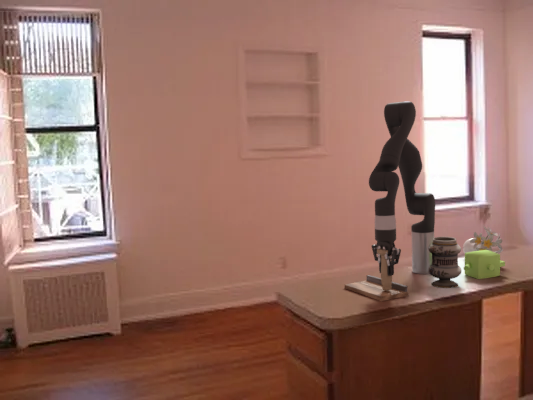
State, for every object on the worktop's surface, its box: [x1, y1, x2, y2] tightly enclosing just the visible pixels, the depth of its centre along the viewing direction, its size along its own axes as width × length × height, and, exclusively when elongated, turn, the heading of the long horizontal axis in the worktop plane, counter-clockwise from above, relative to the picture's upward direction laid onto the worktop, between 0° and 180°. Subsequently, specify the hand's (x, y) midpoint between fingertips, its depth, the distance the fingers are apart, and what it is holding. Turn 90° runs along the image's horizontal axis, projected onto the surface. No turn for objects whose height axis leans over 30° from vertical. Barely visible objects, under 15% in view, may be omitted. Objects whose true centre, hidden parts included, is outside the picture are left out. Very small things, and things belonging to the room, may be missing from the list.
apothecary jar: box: [428, 236, 462, 289], centre depth 213 cm, size 12×12×18 cm
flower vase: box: [462, 225, 504, 254], centre depth 249 cm, size 13×18×25 cm
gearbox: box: [463, 250, 506, 280], centre depth 224 cm, size 18×10×10 cm, turn 107°
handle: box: [377, 249, 393, 291], centre depth 202 cm, size 5×6×15 cm
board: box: [344, 274, 409, 302], centre depth 208 cm, size 12×22×4 cm, turn 28°
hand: (386, 274), depth 203 cm, fingers closed on handle, 3 cm apart
